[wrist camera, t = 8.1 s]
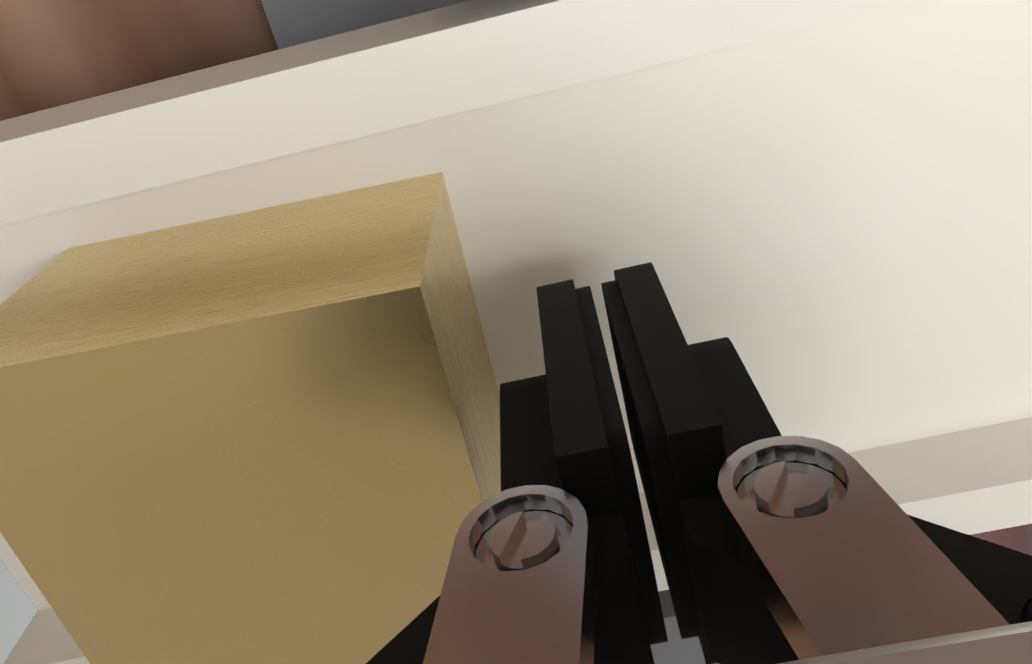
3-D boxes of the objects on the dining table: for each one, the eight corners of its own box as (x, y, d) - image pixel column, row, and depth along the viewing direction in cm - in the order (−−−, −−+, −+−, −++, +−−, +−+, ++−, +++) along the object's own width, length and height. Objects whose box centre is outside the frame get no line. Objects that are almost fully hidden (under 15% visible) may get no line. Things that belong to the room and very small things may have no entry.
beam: (1164, -203, 14) (1616, -269, 8) (1099, 291, 19) (1360, 463, 13) (-64, 115, 16) (-364, 234, 11) (152, 486, 21) (25, 707, 15)
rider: (442, 171, 12) (420, 286, 8) (516, 462, 15) (522, 641, 11) (68, 248, 12) (-100, 387, 9) (205, 516, 15) (118, 703, 12)
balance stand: (719, -308, 15) (946, -512, 7) (783, 420, 23) (924, 672, 15) (215, -165, 16) (-31, -218, 8) (447, 488, 24) (427, 758, 16)
